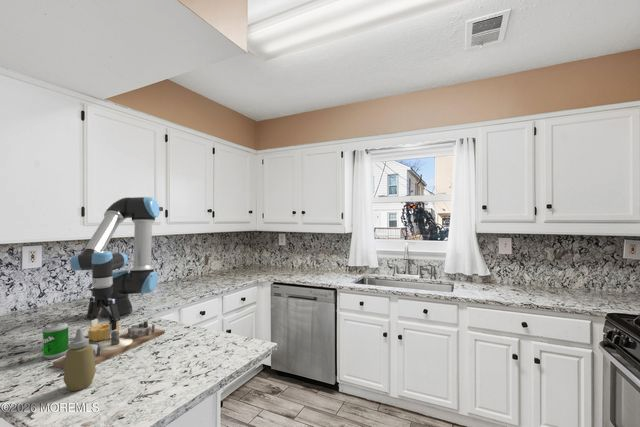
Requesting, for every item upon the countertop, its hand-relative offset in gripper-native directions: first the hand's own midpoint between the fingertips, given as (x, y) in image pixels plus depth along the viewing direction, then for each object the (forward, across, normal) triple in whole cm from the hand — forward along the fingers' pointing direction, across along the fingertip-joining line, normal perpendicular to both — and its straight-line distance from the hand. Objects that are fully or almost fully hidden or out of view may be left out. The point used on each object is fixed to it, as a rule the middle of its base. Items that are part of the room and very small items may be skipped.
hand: (103, 335), depth 137 cm
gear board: (0, +17, -7) cm, 18 cm away
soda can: (+1, +1, -19) cm, 19 cm away
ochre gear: (0, 0, 0) cm, 0 cm away
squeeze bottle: (0, +34, -31) cm, 46 cm away
